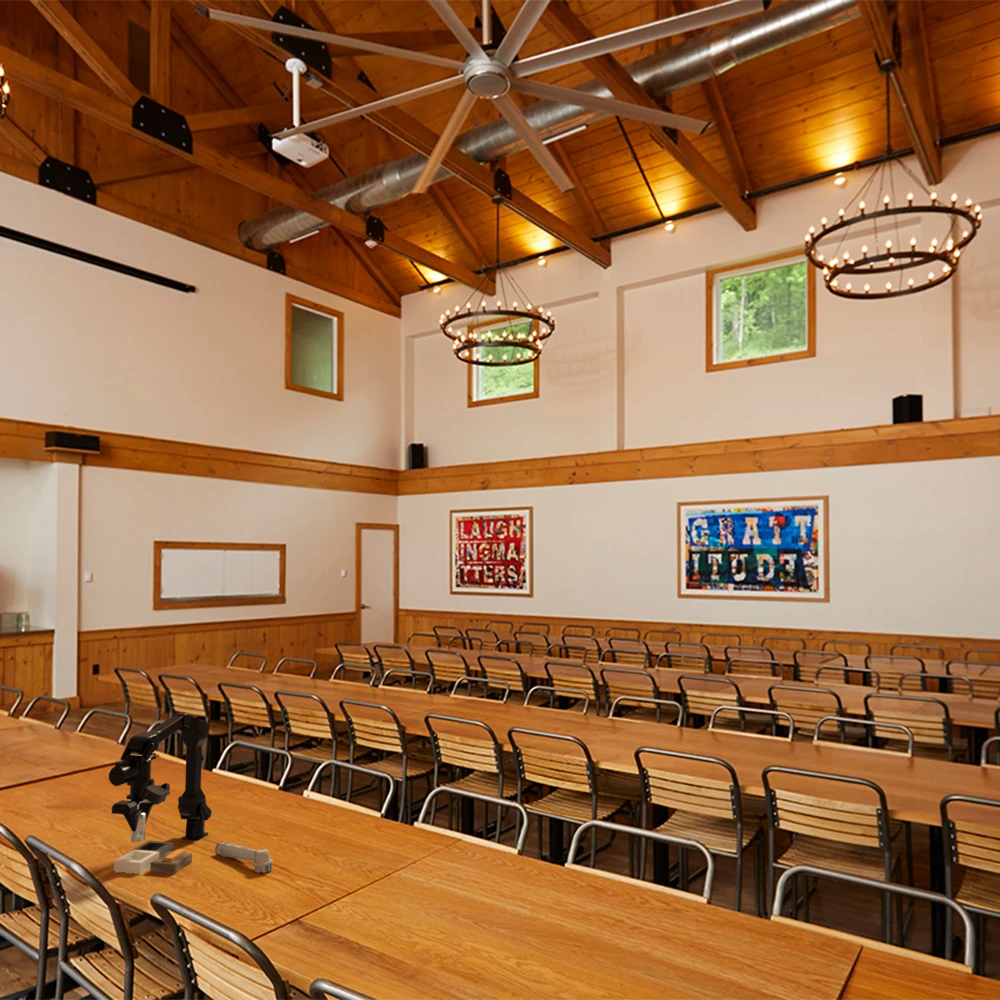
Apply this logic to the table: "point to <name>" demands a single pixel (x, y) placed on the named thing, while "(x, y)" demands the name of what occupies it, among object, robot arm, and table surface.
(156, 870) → the key guide
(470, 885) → the table surface
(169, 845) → the socket block
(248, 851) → the grey handle with block
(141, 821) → the peg
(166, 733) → the robot arm
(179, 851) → the block
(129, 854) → the frame
